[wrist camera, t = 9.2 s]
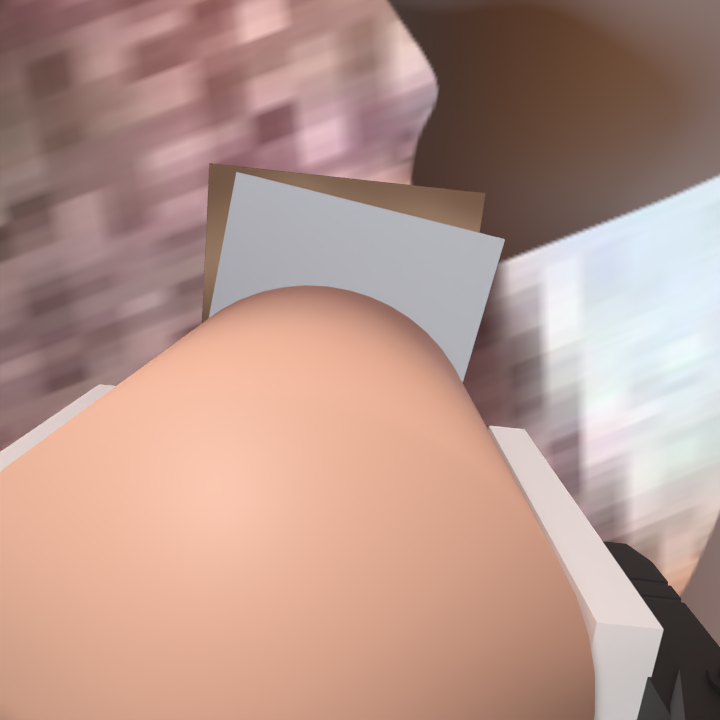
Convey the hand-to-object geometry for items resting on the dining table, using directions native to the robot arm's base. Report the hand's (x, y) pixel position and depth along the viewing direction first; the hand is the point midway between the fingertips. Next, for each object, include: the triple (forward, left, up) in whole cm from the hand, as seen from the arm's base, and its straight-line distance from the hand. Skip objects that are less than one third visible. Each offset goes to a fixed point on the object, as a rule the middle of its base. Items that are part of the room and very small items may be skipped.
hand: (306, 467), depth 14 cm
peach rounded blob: (0, 0, -1) cm, 1 cm away
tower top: (0, 0, -19) cm, 19 cm away
